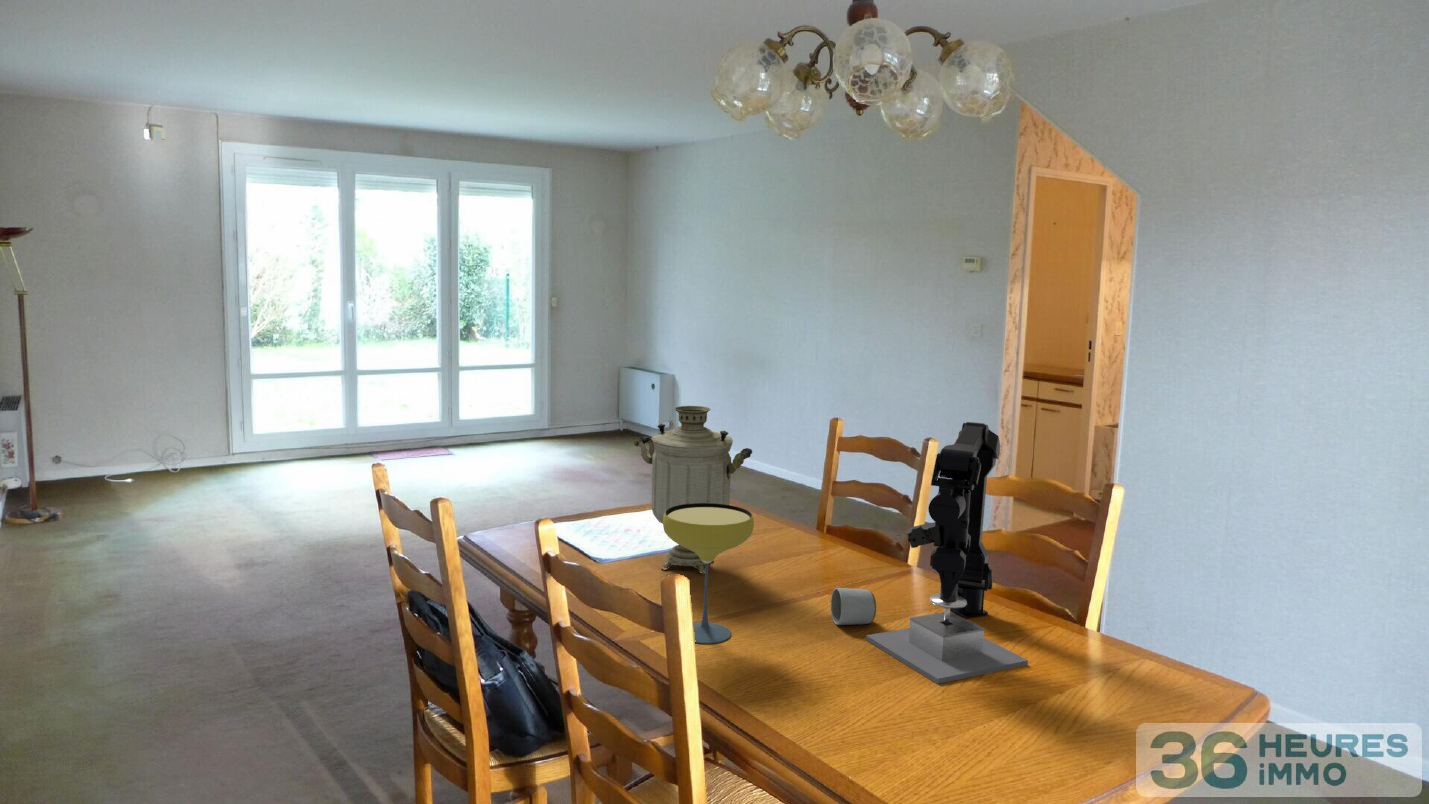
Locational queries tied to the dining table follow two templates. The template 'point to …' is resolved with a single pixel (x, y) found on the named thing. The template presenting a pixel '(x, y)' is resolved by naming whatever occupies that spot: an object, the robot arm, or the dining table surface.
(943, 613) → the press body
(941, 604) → the plunger
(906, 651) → the slate mat
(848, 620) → the ceramic mug
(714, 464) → the samovar
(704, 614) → the cocktail glass
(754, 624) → the dining table surface
